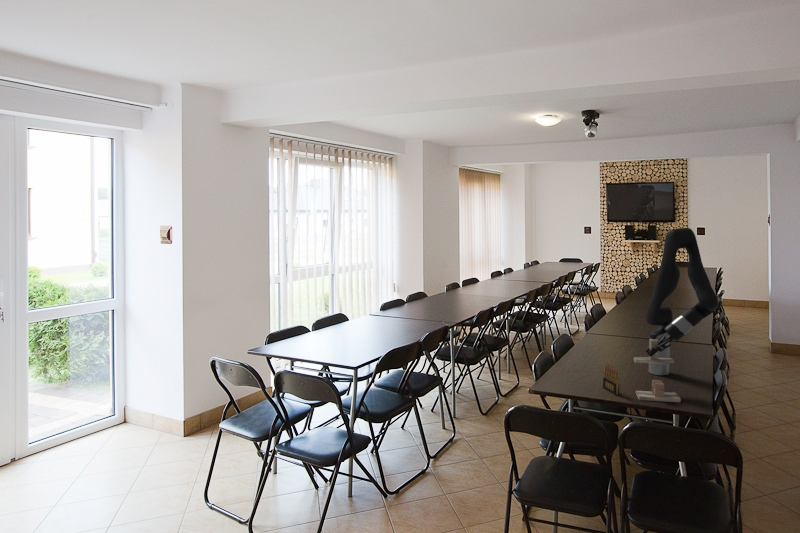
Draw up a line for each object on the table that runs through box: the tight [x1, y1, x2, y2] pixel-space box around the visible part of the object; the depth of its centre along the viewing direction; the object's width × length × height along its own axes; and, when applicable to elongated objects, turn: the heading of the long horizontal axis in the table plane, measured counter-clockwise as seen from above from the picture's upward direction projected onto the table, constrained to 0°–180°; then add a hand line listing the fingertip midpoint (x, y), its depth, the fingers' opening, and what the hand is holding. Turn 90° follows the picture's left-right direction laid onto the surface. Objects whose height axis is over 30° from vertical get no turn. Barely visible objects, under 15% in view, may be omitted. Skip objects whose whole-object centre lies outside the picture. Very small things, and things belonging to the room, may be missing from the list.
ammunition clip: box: [602, 362, 620, 396], centre depth 244 cm, size 11×2×12 cm, turn 9°
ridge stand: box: [635, 379, 682, 403], centre depth 234 cm, size 8×16×7 cm, turn 77°
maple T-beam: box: [633, 339, 675, 365], centre depth 243 cm, size 4×16×10 cm, turn 77°
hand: (648, 353), depth 244 cm, fingers closed on maple T-beam, 3 cm apart
